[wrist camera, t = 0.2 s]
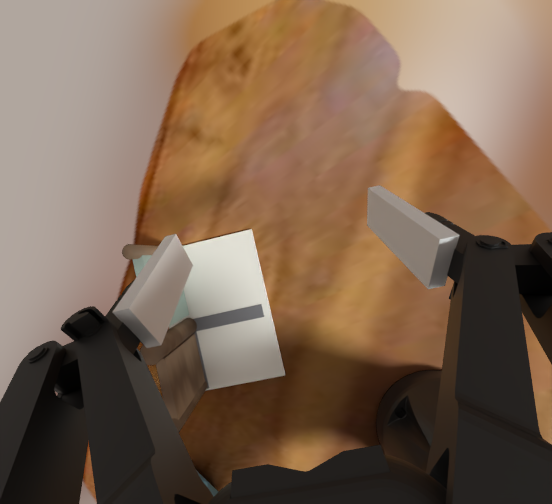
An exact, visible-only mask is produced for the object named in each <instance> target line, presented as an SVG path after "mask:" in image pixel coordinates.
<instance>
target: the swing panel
mask: <svg viewBox="0 0 552 504" xmlns="http://www.w3.org/2000/svg"><path fill="white" fill-rule="evenodd" d="M157 248H158V246H152V245H131V244H128V245H126V246H125V247H124V248H123V250H122V254H123V256H124V257H125V258H126V259H133V264H134V269H135V273H136V278H137V276H138V275H139V273H140V272H141V270H142V269H143V268H144V266H145V265H146V263H147V262H148V260H149V259H150V258H151V256H152V255H153V253H154V252H155V250H156V249H157ZM188 315H189V312H188V307H187V303H186V298H185V294H184V289H183V292H182V294H181V297H180V300H179V302H178V305H177V307H176V310H175V312H174V315H173V317H172V320H171V322H170V325H169V326H171V325H173V324H174V323H176V322H178V321H179V320H181V319H183V318H184V317H186V316H188Z"/></svg>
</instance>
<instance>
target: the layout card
mask: <svg viewBox="0 0 552 504" xmlns="http://www.w3.org/2000/svg"><path fill="white" fill-rule="evenodd" d="M183 248H184V250H185V251H186V253H187V255H188V257H189V259H190V261H191V262H192V264H193V267H192V269H191V272H190V274H189V277H188V279H187V282H186V284H185V287H184V294H185V298H186V303H187V307H188V312H189V315H188V316H186V317H184V318H183V319H181V320H179V321H178V322H176V323H174V324H173V325H171V326H169V329H170V328H171V327H173V326H175V325H176V324H178V323H179V322H181V321H183V320H184V319H186V318H192V319H193V320H194V321H195V322H196V324H197V329H196V331H195V333H193V334H195V338H196V342H197V347H198V351H199V355H200V360H201V364H202V369H203V373H204V378H205V381H206V382H207V385H208V386H207V389H206V390H205V391H207V390H212V389H217V388H222V387H228V386H233V385H238V384H243V383H249V382H254V381H259V380H264V379H269V378H275V377H280V376H285V370H284V366H283V362H282V357H281V353H280V349H279V345H278V340H277V336H276V332H275V327H274V323H273V319H272V314H271V310H270V306H269V301H268V297H267V293H266V289H265V284H264V280H263V276H262V271H261V267H260V263H259V258H258V254H257V250H256V245H255V241H254V237H253V233H252V229H250V230H246V231H242V232H237V233H233V234H229V235H225V236H221V237H217V238H213V239H209V240H205V241H201V242H197V243H193V244H189V245H184V246H183Z"/></svg>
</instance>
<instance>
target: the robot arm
mask: <svg viewBox="0 0 552 504" xmlns="http://www.w3.org/2000/svg"><path fill="white" fill-rule="evenodd" d="M367 226H368V227H369V228H370V229H371V230H372V231H373V232H374V233H375V234H376V235H377V236H378V237H379V238H380V239H381V240H382V241H383V242H384V243H385V244H386V246H387V247H388V248H389V249H390V250H391V251H392V252H393V253H394V254H395V255H396V256H397V257H398V258H399V259H400V260H401V261H402V262H403V263H404V264H405V265H406V267H407V268H408V269H409V270H410V271H411V272H412V273H413V274H414V275H415V276H416V277H417V278H418V279H419V280H420V281H421V282H422V283H423V284H424V285H425V286H426V288H427V289H431V288H436V287H441V286H445V283H446V280H447V276H449V277H450V278H451V279H452V280H454V284H453V287H452V290H451V293H450V296H449V299H451V303H450V311H449V319H448V326H447V334H446V342H445V350H444V357H443V365H442V371H438V370H427V371H420V372H416V373H413V374H410V375H408V376H405V377H404V378H402V379H400V380H399V381H397V382H396V383H395V384H394V385H393V386H392V387H391V388H390V389H389V390H388V391H387V392H386V394H385V395H384V397H383V399H382V401H381V403H380V405H379V408H378V412H377V419H376V428H377V435H378V439H379V442H380V445H376V446H371V447H365V448H359V449H353V450H348V451H343V452H341V453H339V454H338V455H336V456H334V457H332V458H331V459H329V460H327V461H326V462H324V463H322V464H320V465H319V466H317V467H315V468H313V469H312V470H310V471H306V472H304V471H298V470H293V469H288V468H283V467H278V466H273V465H268V464H267V465H261V466H256V467H250V468H244V469H238V470H233V471H232V482H231V483H229V484H228V485H226V486H225V487H224V488H222V489H221V490H220V491H219V492H218V493H217V494H216V495H215V496H214V497H213V495H212V493H211V492H210V490H209V489H208V487H207V486H206V485H205V484H204V482H203V481H202V480H201V478H200V477H199V475H198V473H197V471H196V469H195V467H194V464H193V462H192V460H191V458H190V456H189V454H188V452H187V450H186V447H185V445H184V443H183V441H182V439H181V437H180V435H179V433H178V430H177V428H176V426H175V424H174V422H173V420H172V418H171V416H170V413H169V411H168V409H167V407H166V405H165V403H164V401H163V399H162V396H161V394H160V392H159V390H158V388H157V386H156V384H155V382H154V379H153V377H152V375H151V373H150V371H149V369H148V367H147V364H146V362H145V360H144V358H143V356H142V354H141V352H140V351H139V350H138V349H137V347H138V345H139V343H140V342H141V343H142V344H143V345H144V346H145V347H146V348H150V347H155V346H160V345H162V342H163V340H164V337H165V335H166V332H167V330H168V327H169V325H170V322H171V320H172V317H173V315H174V312H175V310H176V307H177V305H178V302H179V300H180V297H181V294H182V292H183V289H184V287H185V284H186V282H187V279H188V277H189V274H190V272H191V269H192V267H193V264H192V262H191V261H190V259H189V257H188V255H187V253H186V251H185V250H184V248H183V246H182V244H181V242H180V241H179V239H178V237H177V235H176V234H174V235H170V236H165V238H164V239H163V240H162V242H161V243H160V245H159V246H158V248H157V249H156V250H155V252H154V253H153V255H152V256H151V258H150V259H149V260H148V262H147V263H146V265H145V266H144V268H143V269H142V270H141V272H140V273H139V275H138V276H137V278H136V279H135V280H134V281H133V282H132V283H130V284H129V285H128V286H127V287H126V288H125V290H124V291H123V293H122V295H120V297H119V298H118V301H116V302H115V304H114V305H113V306H112V308H111V309H110V311H109V312H108V314H107V315H106V316H104V315H103V314H102V313H101V312H100V311H99V310H98V309H96V308H95V307H87V308H84V309H82V310H80V311H78V312H77V313H75V314H74V315H72V316H71V317H70V318H68V319H67V320H66V321H65V323H64V324H63V325H62V327H61V330H62V331H63V332H64V333H65V334H67V335H68V336H69V337H70V338H72V339H73V340H74V342H71V343H69V344H67V345H64V346H61V345H60V344H59V343H57V342H56V341H49V342H46V343H44V344H42V345H40V346H38V347H36V348H35V349H34V350H32V351H31V352H29V354H28V355H27V356H26V357H25V358H24V359H23V360H22V362H21V363H20V365H19V366H18V368H17V370H16V373H15V374H14V377H13V378H12V380H11V382H10V384H9V386H8V388H7V390H6V392H5V394H4V396H3V398H2V400H1V402H0V504H79V500H80V493H81V487H82V480H83V473H84V466H85V460H86V453H87V446H88V439H89V447H90V454H91V462H92V469H93V477H94V484H95V492H96V499H97V504H552V445H551V444H550V443H548V442H547V441H545V440H544V439H543V438H542V436H541V434H540V431H539V427H538V420H537V413H536V406H535V399H534V392H533V386H532V379H531V372H530V365H529V358H528V351H527V344H526V337H525V330H524V324H523V317H522V313H523V315H524V316H525V318H526V320H527V322H528V323H529V325H530V327H531V329H532V330H533V332H534V334H535V336H536V338H537V339H538V341H539V343H540V345H541V346H542V348H543V350H544V352H545V353H546V355H547V357H548V359H549V360H550V362H551V364H552V232H550V233H542V234H538V235H537V236H536V237H535V239H534V240H533V242H532V244H525V245H511V244H510V243H509V242H507V241H506V240H504V239H501V238H498V237H494V236H488V235H479V236H474V235H472V234H471V233H469V232H467V231H466V230H464V229H462V228H460V227H459V226H457V225H455V224H453V223H452V222H450V221H447V219H445V218H443V217H442V216H440V215H437V214H434V213H430V212H426V213H423V212H422V211H420V210H418V209H417V208H415V207H414V206H412V205H410V204H409V203H407V202H406V201H404V200H402V199H401V198H399V197H398V196H396V195H394V194H393V193H391V192H390V191H388V190H386V189H385V188H383V187H382V186H380V185H379V186H375V187H371V188H368V212H367ZM55 391H56V392H57V393H58V395H57V396H56V394H55ZM381 447H382V448H381ZM382 449H383V450H382ZM383 451H384V453H383Z"/></svg>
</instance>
